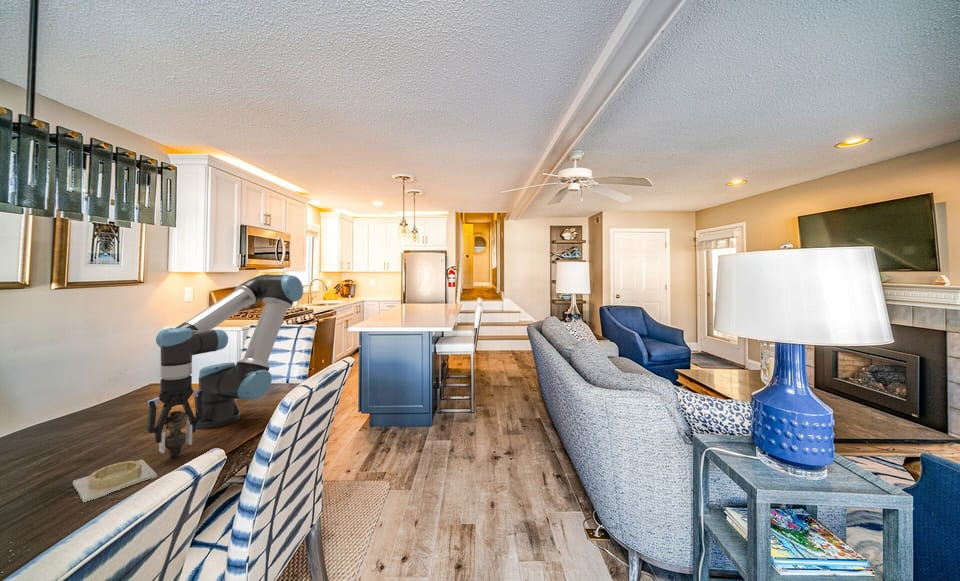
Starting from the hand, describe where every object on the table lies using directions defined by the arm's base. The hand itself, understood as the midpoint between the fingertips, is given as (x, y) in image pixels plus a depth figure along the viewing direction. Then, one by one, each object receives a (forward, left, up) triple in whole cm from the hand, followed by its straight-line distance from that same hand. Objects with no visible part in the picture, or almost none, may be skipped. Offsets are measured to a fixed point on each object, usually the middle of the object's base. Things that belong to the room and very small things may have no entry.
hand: (175, 447), depth 109 cm
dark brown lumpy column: (0, 0, -3) cm, 3 cm away
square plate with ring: (+14, +3, -3) cm, 15 cm away
